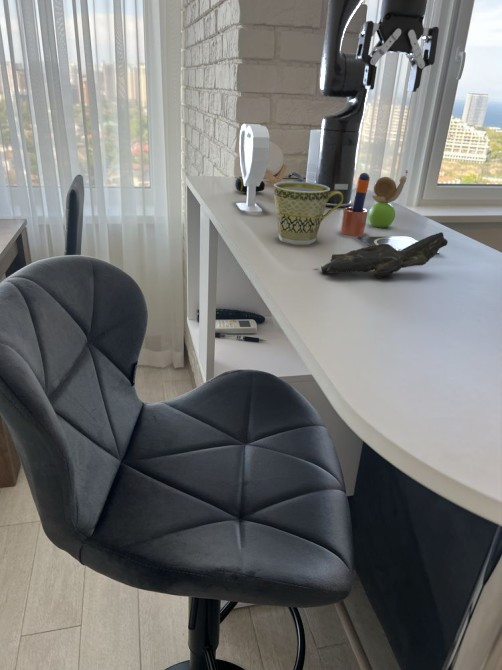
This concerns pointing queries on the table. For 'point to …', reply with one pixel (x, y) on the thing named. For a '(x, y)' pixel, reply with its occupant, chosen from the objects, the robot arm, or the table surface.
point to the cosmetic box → (313, 156)
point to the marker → (360, 192)
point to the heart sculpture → (253, 161)
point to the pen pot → (353, 222)
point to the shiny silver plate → (390, 241)
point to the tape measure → (243, 189)
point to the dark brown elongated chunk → (386, 257)
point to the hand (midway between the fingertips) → (390, 90)
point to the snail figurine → (385, 201)
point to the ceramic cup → (301, 210)
